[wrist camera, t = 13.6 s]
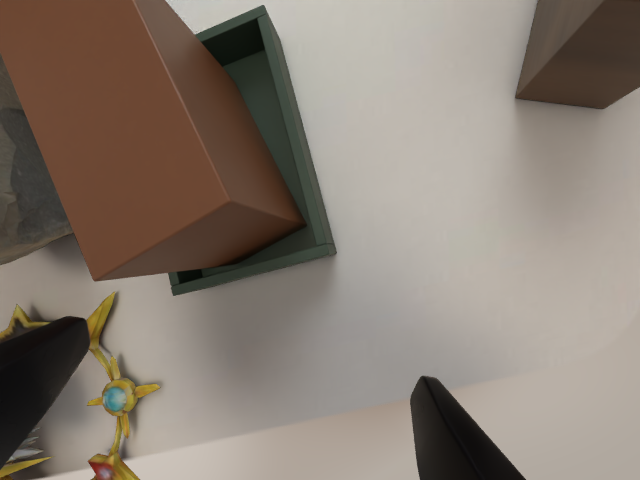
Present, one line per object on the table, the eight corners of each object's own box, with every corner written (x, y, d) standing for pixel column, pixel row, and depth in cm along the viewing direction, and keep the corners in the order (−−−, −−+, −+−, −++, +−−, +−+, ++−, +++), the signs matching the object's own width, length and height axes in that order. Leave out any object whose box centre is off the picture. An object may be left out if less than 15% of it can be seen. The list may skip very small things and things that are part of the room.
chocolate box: (307, 225, 19) (231, 201, 9) (235, 265, 20) (92, 282, 10) (234, 80, 20) (95, -82, 10) (169, 123, 21) (-18, 13, 11)
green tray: (337, 253, 19) (329, 254, 16) (201, 289, 20) (172, 296, 18) (279, 39, 20) (263, 4, 17) (155, 90, 22) (121, 66, 19)
